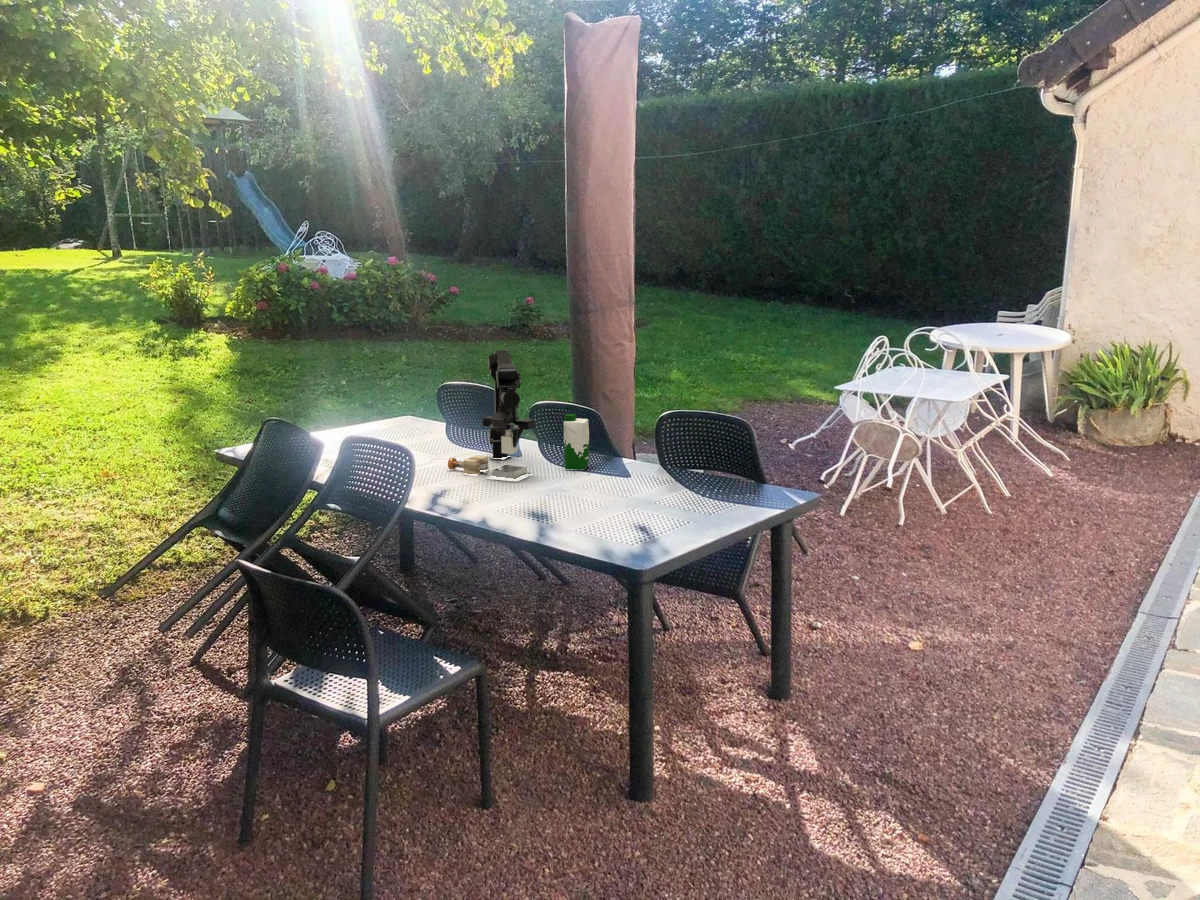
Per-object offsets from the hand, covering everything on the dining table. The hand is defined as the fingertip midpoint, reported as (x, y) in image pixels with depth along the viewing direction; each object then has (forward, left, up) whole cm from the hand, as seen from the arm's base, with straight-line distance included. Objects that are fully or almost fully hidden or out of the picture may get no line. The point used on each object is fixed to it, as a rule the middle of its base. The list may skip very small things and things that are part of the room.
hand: (509, 446), depth 334 cm
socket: (0, 0, -11) cm, 11 cm away
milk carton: (-21, +16, -11) cm, 29 cm away
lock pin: (0, -17, -10) cm, 20 cm away
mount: (0, -14, -11) cm, 18 cm away
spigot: (0, 0, -2) cm, 2 cm away
